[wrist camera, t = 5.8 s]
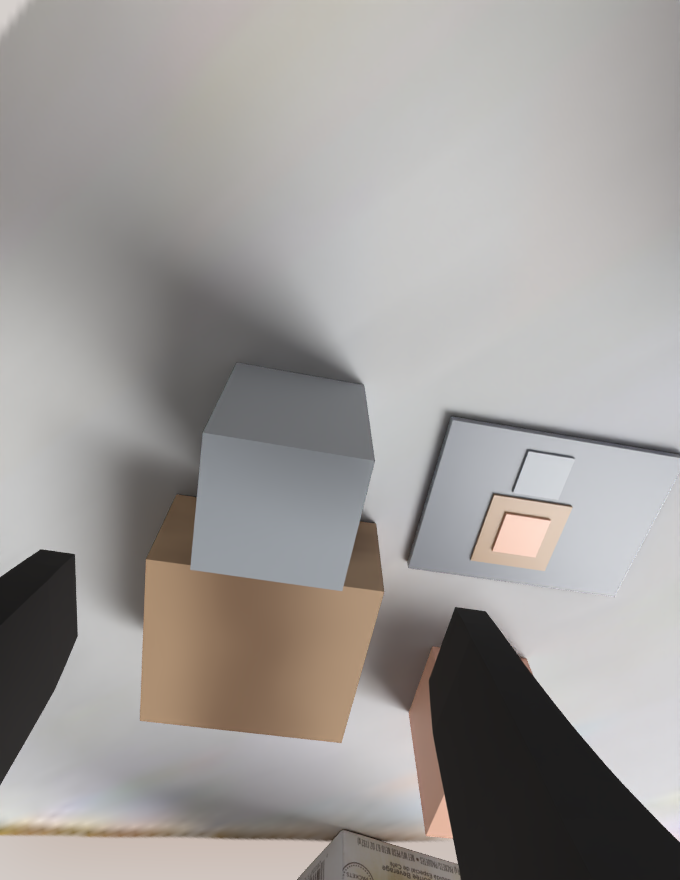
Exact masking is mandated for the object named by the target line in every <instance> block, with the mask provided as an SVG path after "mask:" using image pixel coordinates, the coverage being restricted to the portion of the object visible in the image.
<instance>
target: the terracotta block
mask: <svg viewBox="0 0 680 880" xmlns="http://www.w3.org/2000/svg"><path fill="white" fill-rule="evenodd" d="M440 648H441V647H433V646H432V649H431V651H430V654H429V657H428V660H427V663H426V665H425V668H424V671H423V674H422V677H421V679H420V682H419V685H418V688H417V691H416V693H415V696H414V699H413V702H412V705H411V707H410V710H409V718H410V726H411V733H412V740H413V747H414V754H415V762H416V769H417V776H418V783H419V790H420V798H421V805H422V812H423V819H424V826H425V834H426V836H432V837H442V838H452V839H453V835H452V830H451V825H450V820H449V815H448V810H447V805H446V800H445V795H444V790H443V785H442V780H441V775H440V770H439V765H438V759H437V754H436V749H435V744H434V738H433V731H432V720H431V708H430V694H429V678H430V675H431V673H432V670H433V667H434V664H435V662H436V659H437V656H438V653H439V651H440ZM520 659H521V660H522V661H523V663H524V664H525V665H526V667H527V668H528V670H529V671H530V672H531V674H532V671H531V669H530V666H529V664H528V661H527V659H525V658H520ZM532 675H533V674H532Z"/></svg>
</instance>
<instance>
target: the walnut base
mask: <svg viewBox="0 0 680 880" xmlns="http://www.w3.org/2000/svg"><path fill="white" fill-rule="evenodd" d="M196 501H197V497H192V496H185V495H178V494H177V495H176V497H175V499H174V501H173V503H172V505H171V507H170V509H169V512H168V514H167V516H166V518H165V520H164V522H163V524H162V526H161V528H160V531H159V533H158V535H157V537H156V539H155V541H154V543H153V545H152V548H151V550H150V552H149V554H148V556H147V558H146V571H145V598H144V624H143V651H142V678H141V705H140V721H147V722H156V723H165V724H174V725H183V726H192V727H201V728H210V729H219V730H229V731H238V732H247V733H256V734H265V735H274V736H283V737H292V738H301V739H310V740H319V741H328V742H337V743H341V742H342V739H343V735H344V732H345V728H346V725H347V721H348V718H349V714H350V711H351V707H352V704H353V700H354V697H355V693H356V689H357V686H358V682H359V679H360V675H361V672H362V668H363V665H364V661H365V658H366V654H367V651H368V647H369V644H370V640H371V637H372V633H373V630H374V626H375V622H376V619H377V615H378V612H379V608H380V605H381V601H382V598H383V594H384V586H383V577H382V569H381V561H380V552H379V544H378V535H377V527H376V524H375V523H368V522H361V521H360V522H359V526H358V530H357V534H356V538H355V542H354V546H353V550H352V554H351V558H350V562H349V566H348V570H347V574H346V578H345V582H344V586H343V590H342V591H337V590H330V589H323V588H316V587H309V586H302V585H295V584H287V583H280V582H273V581H266V580H259V579H252V578H245V577H238V576H231V575H224V574H217V573H210V572H203V571H196V570H190V566H191V555H192V544H193V534H194V523H195V512H196Z"/></svg>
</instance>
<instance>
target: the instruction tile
mask: <svg viewBox="0 0 680 880" xmlns="http://www.w3.org/2000/svg"><path fill="white" fill-rule="evenodd" d="M679 473H680V455H679V454H673V453H667V452H661V451H655V450H649V449H643V448H637V447H631V446H625V445H619V444H613V443H607V442H601V441H596V440H590V439H584V438H578V437H572V436H566V435H560V434H554V433H548V432H542V431H536V430H530V429H524V428H518V427H512V426H506V425H500V424H494V423H488V422H482V421H476V420H470V419H464V418H458V417H452V416H451V418H450V421H449V425H448V428H447V432H446V435H445V438H444V442H443V445H442V448H441V452H440V455H439V458H438V462H437V465H436V468H435V472H434V475H433V478H432V482H431V485H430V488H429V492H428V495H427V499H426V502H425V505H424V509H423V512H422V515H421V519H420V522H419V525H418V529H417V532H416V535H415V539H414V542H413V545H412V549H411V552H410V555H409V559H408V562H407V564H408V568H411V569H419V570H426V571H433V572H440V573H447V574H454V575H461V576H468V577H475V578H482V579H490V580H497V581H504V582H511V583H518V584H525V585H532V586H539V587H546V588H553V589H561V590H568V591H575V592H582V593H589V594H596V595H603V596H610V597H615V596H616V594H617V592H618V590H619V588H620V586H621V584H622V582H623V580H624V578H625V576H626V575H627V573H628V571H629V569H630V567H631V565H632V563H633V561H634V559H635V557H636V555H637V553H638V552H639V550H640V548H641V546H642V544H643V542H644V540H645V538H646V536H647V534H648V532H649V531H650V529H651V527H652V525H653V523H654V521H655V519H656V517H657V515H658V513H659V511H660V510H661V508H662V506H663V504H664V502H665V500H666V498H667V496H668V494H669V492H670V490H671V489H672V487H673V485H674V483H675V481H676V479H677V477H678V475H679Z"/></svg>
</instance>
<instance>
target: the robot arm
mask: <svg viewBox="0 0 680 880" xmlns="http://www.w3.org/2000/svg"><path fill="white" fill-rule="evenodd" d="M77 636H78V633H77V604H76V575H75V554H70V553H62V552H55V551H48V550H39V551H38V552H36V553H35V554H33V555H32V556H30V557H29V558H27V559H26V560H24V561H23V562H21V563H20V564H18V565H17V566H16V567H14V568H13V569H11V570H10V571H8V572H7V573H6V574H4V575H3V576H1V577H0V785H1V783H2V781H3V779H4V778H5V776H6V774H7V772H8V771H9V769H10V767H11V765H12V764H13V762H14V760H15V758H16V757H17V755H18V753H19V752H20V750H21V748H22V746H23V745H24V743H25V741H26V739H27V738H28V736H29V734H30V732H31V731H32V729H33V727H34V725H35V724H36V722H37V720H38V718H39V717H40V715H41V713H42V711H43V710H44V708H45V706H46V704H47V702H48V701H49V699H50V697H51V695H52V693H53V692H54V690H55V688H56V685H57V683H58V681H59V679H60V676H61V674H62V672H63V670H64V667H65V665H66V663H67V660H68V658H69V655H70V653H71V651H72V648H73V646H74V643H75V641H76V639H77ZM429 694H430V708H431V720H432V731H433V738H434V744H435V749H436V754H437V759H438V765H439V770H440V775H441V780H442V785H443V790H444V795H445V800H446V805H447V810H448V815H449V820H450V825H451V830H452V835H453V840H454V845H455V850H456V855H457V860H458V866H459V872H460V878H461V880H680V842H679V841H678V840H677V839H676V838H675V837H674V836H673V835H672V834H671V833H670V832H669V831H668V830H667V829H666V828H665V827H664V826H663V825H662V824H661V823H660V822H659V821H658V820H657V819H656V818H655V817H654V816H653V815H652V814H651V813H650V812H649V811H648V810H647V809H646V808H645V807H644V806H643V805H642V804H641V803H640V801H639V800H638V799H637V798H636V797H635V796H634V795H633V794H632V793H631V792H630V791H629V790H628V789H627V788H626V787H625V786H624V785H623V784H622V783H621V781H620V780H619V779H618V778H617V777H616V776H615V775H614V774H613V773H612V772H611V770H610V769H609V768H608V767H607V766H606V765H605V764H604V763H603V761H602V760H601V759H600V758H599V757H598V755H597V754H596V753H595V752H594V751H593V750H592V748H591V747H590V746H589V745H588V744H587V743H586V741H585V740H584V739H583V738H582V737H581V736H580V734H579V733H578V732H577V731H576V730H575V728H574V727H573V726H572V725H571V724H570V722H569V721H568V720H567V719H566V717H565V716H564V715H563V714H562V712H561V711H560V710H559V709H558V707H557V706H556V705H555V704H554V702H553V701H552V700H551V698H550V697H549V696H548V695H547V693H546V692H545V691H544V689H543V688H542V687H541V685H540V684H539V683H538V682H537V680H536V679H535V678H534V676H533V675H532V674H531V672H530V671H529V670H528V668H527V667H526V665H525V664H524V663H523V661H522V660H521V659H520V657H519V656H518V655H517V653H516V652H515V651H514V649H513V648H512V646H511V645H510V644H509V642H508V641H507V640H506V638H505V637H504V635H503V634H502V633H501V631H500V630H499V629H498V627H497V626H496V625H495V623H494V622H493V621H492V619H491V618H490V617H489V615H488V614H487V613H486V611H479V610H472V609H464V608H457V607H455V609H454V612H453V615H452V618H451V620H450V623H449V626H448V629H447V631H446V634H445V637H444V640H443V642H442V645H441V648H440V651H439V653H438V656H437V659H436V662H435V664H434V667H433V670H432V673H431V675H430V678H429Z"/></svg>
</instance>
